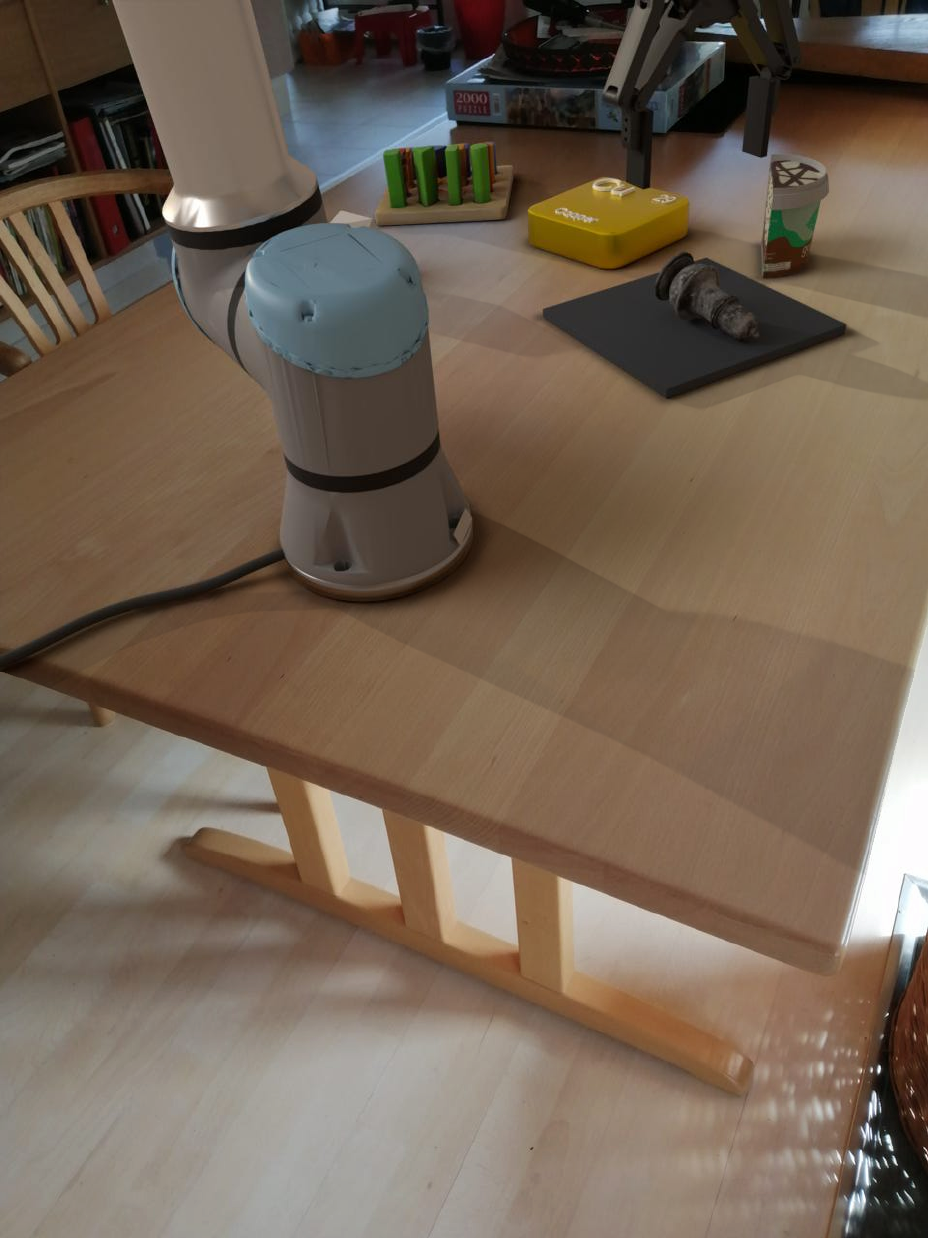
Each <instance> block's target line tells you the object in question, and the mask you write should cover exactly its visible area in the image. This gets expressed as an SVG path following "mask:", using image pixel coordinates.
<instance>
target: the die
mask: <svg viewBox="0 0 928 1238" xmlns="http://www.w3.org/2000/svg"><path fill="white" fill-rule="evenodd" d="M329 223H346V224H349V225H350V227H351V228H358V227H360V226H366V227H370V228H373V229H376V230H379V231H381V229H380V227H379V225H377V224H376V221H374V219H373V218H371V217H367V216H364V215H360V214H356V213H352V212H349V211H345V210H341V209H340V210H339V212H338V213H337V214H336V215H335V216H334V218H333V219H332V220H331V221H330V222H329Z"/></svg>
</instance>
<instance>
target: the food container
mask: <svg viewBox="0 0 928 1238" xmlns="http://www.w3.org/2000/svg"><path fill="white" fill-rule="evenodd" d="M766 189H767V190H766V199H765V207H764V216H763V224H762V225H763V226H762V235H761V244H760V248H761V249H760V250H761V273H762V276H761V277H762V279H766V278H767V279H770V278H772V279H773V278H780V277H787V276H790V275H793V274H796V273H798V272H800V271H802V270H804V269H805V267H806V266H807V264H808V260H809V256H810V252H811V246H812V242H813V238H814V233H815V228H816V224H817V219H818V215H819V214H818V213H819V210H820V206H821V202H822V200H824V199H825V198H826V197H828V195H829V193H830V181H829V175H828V172H827V168H826V166H825V165H824V164H823V163H821V162H820V161H818V160H815V159H812V158H810V157H806V156H802V155H796V154H786V153H785V154H784V153H783V154H782V153H771V154H770V160H769V167H768V181H767V188H766Z"/></svg>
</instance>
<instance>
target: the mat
mask: <svg viewBox="0 0 928 1238" xmlns="http://www.w3.org/2000/svg"><path fill="white" fill-rule="evenodd" d="M694 264H705V265H707V266H714V267H716V268H717V269H718V270H719V274H720V281H719V285H718V287H719V288H720V289H721V290H722V291H724V292H725V293H726V294H728V295H729V296H733V295H734V296H737V297H738V299H739V304H741V305H742V306H744V307H745V308H747V309H748V310H749V311H751V312H752V313H754V314H755V315H756V316H757V318H758V326H757V329H756V332H757V331H758V332H759V337H755V338H754V337H753V335H752V336H751V337H749V338H748V339H746V340H743V341H739V340H736V339H735V338H733V337H732V336H730V335H729V334H728V333H726V332H725V331H723V330H722V329H721V328H719V329H714V328H713V327H712V326H711V322H710V321H708V320H707V319H705V318H704V317H703V316H701V315H699V314H698V315H697V316H695V317H693V318H691V319H687V320H683V319H680V318H679V317H678V316H677V315H676V311H675V310H674V309H673V307H672V305H671V303H670V300H669V299H668V300H664V301H662V300H659V299H658V298H657V297H656V295H655V292H654V291H655V283H656V279H657V277H658V275H659V273H660V271H659V272H656V273H652V274H649V275H646V276H643V277H640V278H637V279H633V280H630V281H627V282H624V283H621V284H618V285H615V286H611V287H608V288H605V289H602V290H598V291H595V292H592V293H588V294H585V295H583V296H579V297H576V298H573V299H570V300H567V301H564V302H561V303H557V304H554V305H551V306H547V307H544V308H542V318H543V319H545V320H546V321H548V322H549V323H551V324H552V325H554V326H556V327H557V328H559V329H560V330H562V331H563V332H564V333H566V334H568V335H569V336H571V337H572V338H574V339H576V340H577V341H578V342H580V343H581V344H582V345H584V346H585V347H587V348H588V349H590V350H592V351H593V352H594V353H597V354H598V355H600V356H601V357H603V358H604V359H606V360H607V361H608V362H610V363H612V364H613V365H614V366H616V367H618V368H619V369H621V370H622V371H624V372H625V373H627V374H628V375H630V376H631V377H633V378H634V379H636V380H637V381H639V382H641V383H642V384H644V385H645V386H646V387H648V388H650V389H651V390H652V391H654V392H656V393H657V394H659V395H660V396H662V397H663V398H665V399H669V398H671V397H674V396H677V395H680V394H683V393H686V392H688V391H691V390H694V389H697V388H699V387H702V386H704V385H707V384H709V383H713V382H716V381H718V380H721V379H724V378H727V377H730V376H732V375H734V374H737V373H740V372H743V371H746V370H749V369H752V368H754V367H757V366H760V365H762V364H765V363H768V362H771V361H773V360H777V359H779V358H782V357H784V356H787V355H790V354H793V353H795V352H799V351H801V350H804V349H806V348H808V347H812V346H814V345H817V344H821V343H823V342H826V341H828V340H831V339H833V338H837V337H840V336H842V335H845V334H846V331H847V323H845V322H842V321H840V320H838V319H836V318H834V317H832V316H830V315H828V314H826V313H824V312H821V311H819V310H817V309H815V308H813V307H811V306H809V305H807V304H805V303H803V302H800V301H798V300H796V299H794V298H792V297H790V296H788V295H786V294H784V293H782V292H780V291H777V290H776V289H773V288H771V287H769V286H767V285H765V284H763V283H760V282H759V281H756V280H754V279H753V278H751V277H748V276H746V275H744V274H741V273H740V272H738V271H736V270H734V269H732V268H729V267H727V266H725V265H722V264H721V263H719V262H717V261H714V259H711V258H708V257H703V258H700V259H697V260H694Z"/></svg>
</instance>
